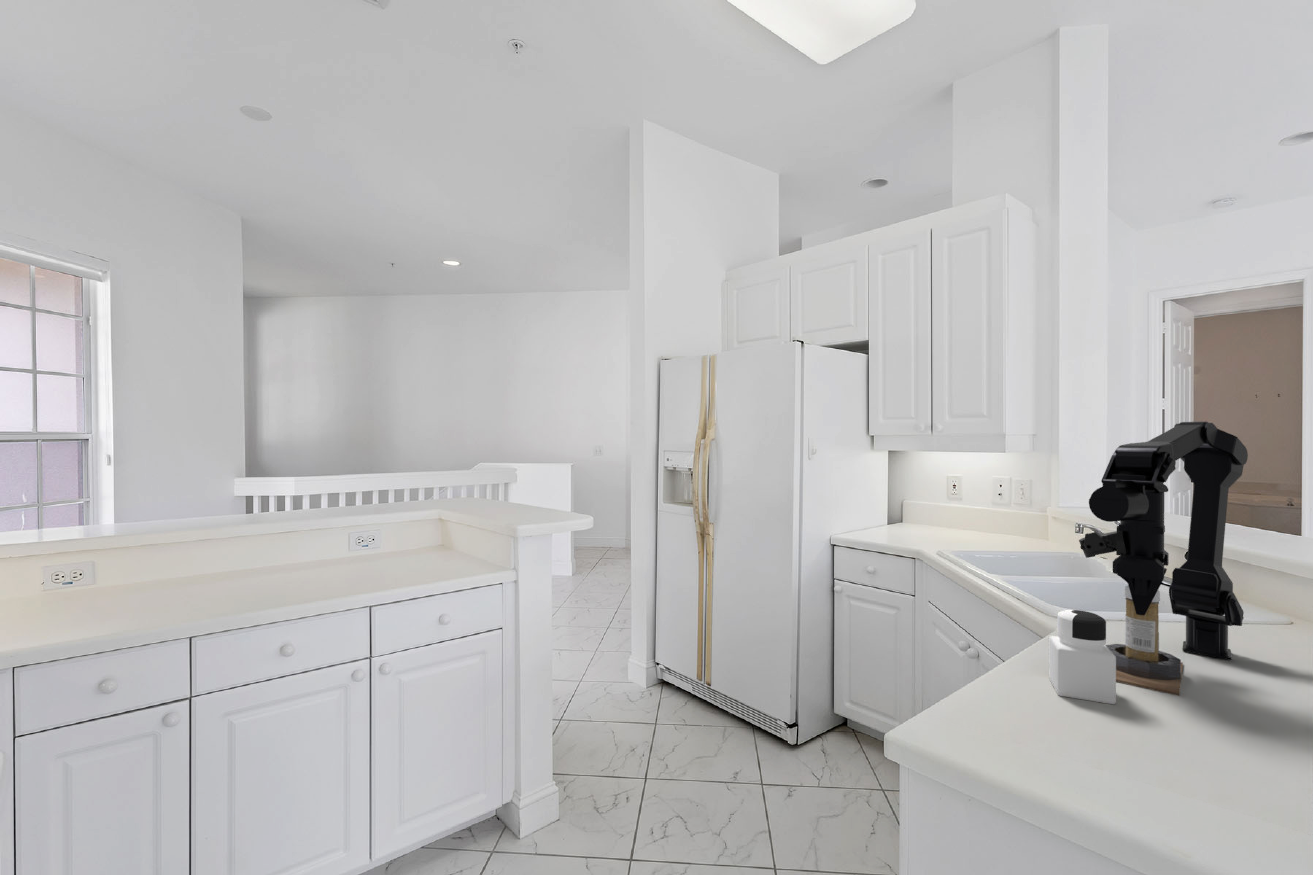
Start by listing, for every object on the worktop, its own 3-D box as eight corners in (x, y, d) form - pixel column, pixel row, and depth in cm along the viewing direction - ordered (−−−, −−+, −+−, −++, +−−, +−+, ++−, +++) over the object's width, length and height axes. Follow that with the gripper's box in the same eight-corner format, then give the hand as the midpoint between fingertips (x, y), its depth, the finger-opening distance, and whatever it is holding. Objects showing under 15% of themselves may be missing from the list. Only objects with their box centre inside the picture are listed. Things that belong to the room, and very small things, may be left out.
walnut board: (1110, 650, 109) (1110, 648, 109) (1182, 664, 102) (1182, 662, 102) (1096, 677, 95) (1097, 674, 95) (1179, 695, 89) (1179, 692, 89)
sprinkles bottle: (1163, 669, 98) (1164, 588, 98) (1152, 674, 96) (1153, 592, 96) (1130, 660, 102) (1131, 582, 102) (1119, 665, 99) (1120, 586, 99)
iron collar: (1108, 653, 106) (1108, 640, 106) (1181, 668, 99) (1181, 654, 99) (1100, 668, 98) (1100, 653, 98) (1179, 685, 92) (1179, 669, 92)
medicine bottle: (1103, 687, 91) (1103, 610, 91) (1116, 705, 85) (1116, 622, 85) (1048, 679, 94) (1049, 604, 94) (1057, 695, 88) (1058, 615, 88)
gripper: (1090, 511, 111) (1090, 593, 111) (1074, 519, 98) (1074, 613, 97) (1168, 516, 104) (1168, 605, 103) (1162, 526, 90) (1162, 628, 90)
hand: (1141, 611), depth 99 cm, fingers open, 4 cm apart
